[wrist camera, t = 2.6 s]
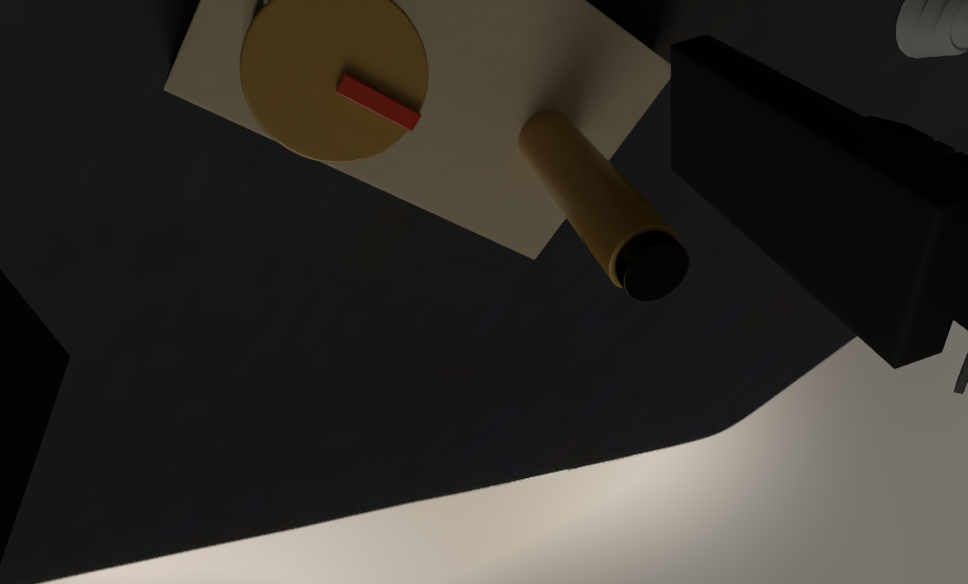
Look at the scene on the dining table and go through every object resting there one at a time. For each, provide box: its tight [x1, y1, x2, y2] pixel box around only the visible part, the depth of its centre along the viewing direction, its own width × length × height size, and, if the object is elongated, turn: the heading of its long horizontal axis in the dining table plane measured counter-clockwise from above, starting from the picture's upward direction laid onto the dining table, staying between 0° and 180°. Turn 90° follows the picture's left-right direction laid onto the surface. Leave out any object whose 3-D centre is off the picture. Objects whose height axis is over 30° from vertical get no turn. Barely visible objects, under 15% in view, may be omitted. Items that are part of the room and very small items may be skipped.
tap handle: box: [240, 0, 429, 163], centre depth 21 cm, size 5×5×8 cm
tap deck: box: [163, 0, 671, 259], centre depth 28 cm, size 19×11×3 cm, turn 54°
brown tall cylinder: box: [518, 110, 689, 301], centre depth 26 cm, size 3×3×12 cm
